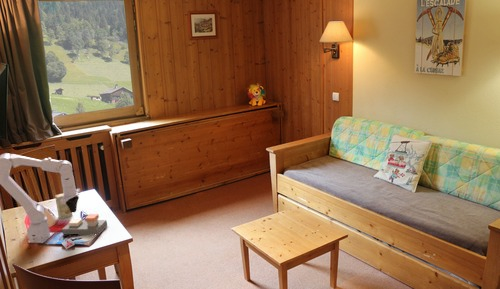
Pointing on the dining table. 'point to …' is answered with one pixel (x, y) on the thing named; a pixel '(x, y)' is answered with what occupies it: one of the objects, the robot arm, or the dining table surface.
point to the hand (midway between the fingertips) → (73, 211)
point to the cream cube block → (75, 222)
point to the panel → (85, 228)
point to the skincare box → (62, 207)
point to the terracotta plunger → (92, 220)
